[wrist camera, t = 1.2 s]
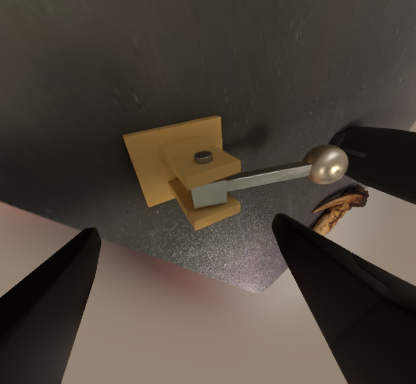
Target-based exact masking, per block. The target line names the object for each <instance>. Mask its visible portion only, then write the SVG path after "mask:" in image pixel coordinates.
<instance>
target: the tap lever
mask: <svg viewBox="0 0 416 384" xmlns="http://www.w3.org/2000/svg"><path fill="white" fill-rule="evenodd" d="M347 168H348V157H347V155H346V153H345V152H344V151H343V150H342V149H340V148H339V147H337V146H334V145H320V146H317V147H315V148H313V149H311V150H310V151H309V152H308V153H307V154H306V155H305V156H304V158H303V161H301V162H295V163H290V164H285V165H279V166H274V167H269V168H263V169H258V170H253V171H247V172H242V173H237V174H234V175H231V176H228V177H225V178H222V179H219V180H216V181H213V182H211V183H208V184H205V185H202V186H199V187H196V188H193V189H190V190H191V195H192V200H193V204H194V208H195V209H196V208H201V207H206V206H211V205H216V204H221V203H225V202H227V192H228V191H233V190H238V189H243V188H248V187H253V186H258V185H263V184H268V183H273V182H279V181H284V180H289V179H294V178H299V177H304V176H305V177H306V178H307V179H308V180H310V181H311V182H313V183H316V184H330V183H333V182H335V181H337V180H339V179H340V178H341V177H342V176H343V175H344V174H345V173H346V171H347Z"/></svg>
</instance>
